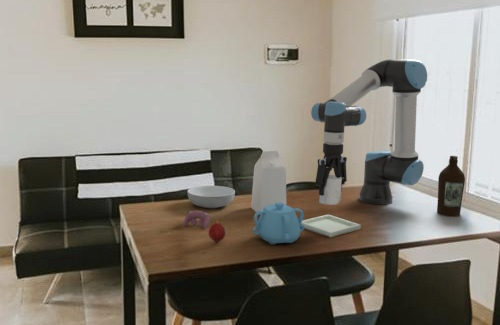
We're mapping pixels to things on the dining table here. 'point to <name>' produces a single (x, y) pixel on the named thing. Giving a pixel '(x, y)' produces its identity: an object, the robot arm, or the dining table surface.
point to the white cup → (333, 189)
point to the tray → (330, 225)
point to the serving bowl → (211, 196)
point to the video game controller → (194, 215)
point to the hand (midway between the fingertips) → (330, 201)
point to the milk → (268, 181)
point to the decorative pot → (278, 223)
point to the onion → (216, 232)
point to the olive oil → (450, 189)
